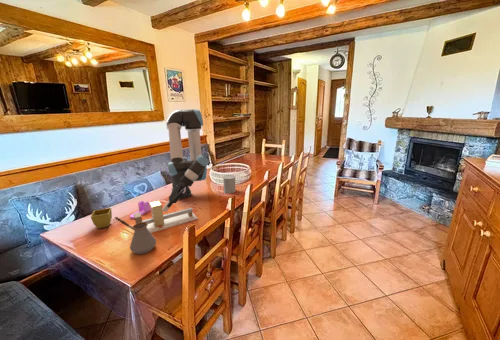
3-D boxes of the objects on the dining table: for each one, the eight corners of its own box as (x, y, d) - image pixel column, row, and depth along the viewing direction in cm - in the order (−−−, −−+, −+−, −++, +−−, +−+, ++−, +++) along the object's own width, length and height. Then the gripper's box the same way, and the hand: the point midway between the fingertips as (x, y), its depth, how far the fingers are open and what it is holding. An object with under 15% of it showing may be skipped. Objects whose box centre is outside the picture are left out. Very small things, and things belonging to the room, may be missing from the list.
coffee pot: (162, 244, 108) (158, 217, 104) (144, 259, 98) (139, 229, 94) (129, 237, 115) (124, 211, 111) (109, 250, 105) (103, 222, 101)
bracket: (143, 209, 148) (142, 200, 146) (150, 210, 146) (148, 200, 144) (128, 218, 136) (126, 208, 134) (135, 219, 134) (133, 209, 132)
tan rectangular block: (152, 221, 127) (149, 202, 124) (161, 219, 130) (159, 200, 126) (155, 226, 121) (151, 207, 118) (164, 224, 124) (161, 204, 121)
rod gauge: (135, 227, 124) (132, 212, 122) (191, 212, 141) (190, 198, 139) (137, 236, 115) (134, 219, 113) (197, 219, 132) (195, 204, 130)
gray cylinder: (233, 193, 171) (233, 179, 167) (222, 193, 173) (221, 178, 169) (237, 189, 180) (236, 175, 176) (226, 189, 182) (225, 175, 178)
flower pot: (97, 223, 130) (94, 210, 127) (114, 220, 133) (111, 207, 131) (93, 231, 122) (90, 216, 120) (111, 227, 125) (108, 213, 123)
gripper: (197, 184, 126) (171, 218, 122) (190, 178, 137) (166, 209, 133) (187, 177, 122) (160, 212, 118) (181, 172, 133) (156, 204, 129)
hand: (163, 210), depth 125 cm, fingers closed
